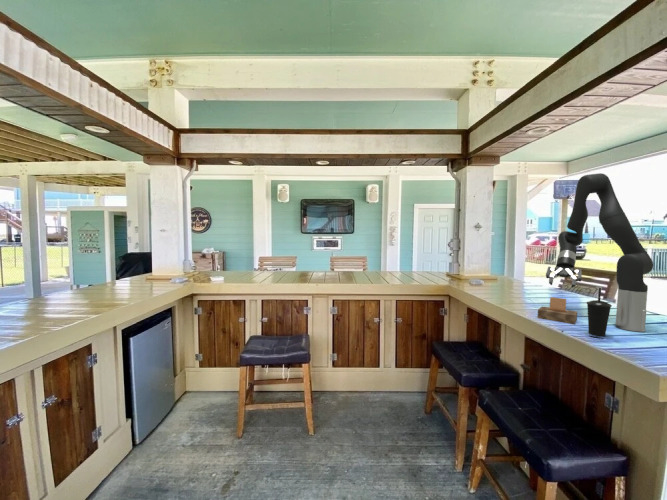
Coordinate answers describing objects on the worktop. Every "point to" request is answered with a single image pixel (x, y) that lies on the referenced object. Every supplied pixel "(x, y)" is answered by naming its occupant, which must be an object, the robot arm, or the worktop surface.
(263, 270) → the worktop surface
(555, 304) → the cover plate
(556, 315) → the box
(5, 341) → the worktop surface
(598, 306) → the drinking cup
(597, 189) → the robot arm
